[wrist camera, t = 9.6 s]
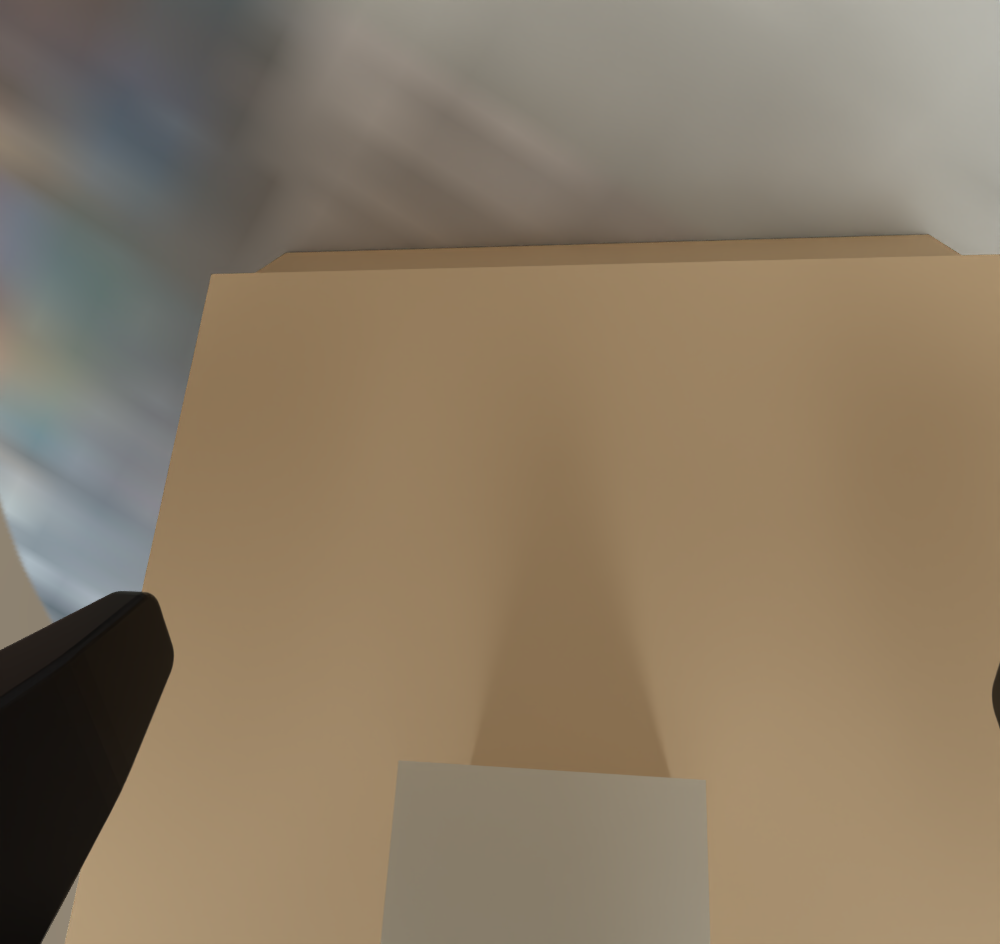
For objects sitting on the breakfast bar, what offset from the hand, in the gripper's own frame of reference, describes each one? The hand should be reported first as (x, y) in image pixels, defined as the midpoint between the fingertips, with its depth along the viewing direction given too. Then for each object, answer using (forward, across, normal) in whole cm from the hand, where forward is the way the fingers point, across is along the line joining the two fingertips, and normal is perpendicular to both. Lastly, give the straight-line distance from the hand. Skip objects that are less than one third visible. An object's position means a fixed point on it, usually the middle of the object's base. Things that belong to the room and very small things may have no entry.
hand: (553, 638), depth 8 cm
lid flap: (+4, 0, +2) cm, 5 cm away
